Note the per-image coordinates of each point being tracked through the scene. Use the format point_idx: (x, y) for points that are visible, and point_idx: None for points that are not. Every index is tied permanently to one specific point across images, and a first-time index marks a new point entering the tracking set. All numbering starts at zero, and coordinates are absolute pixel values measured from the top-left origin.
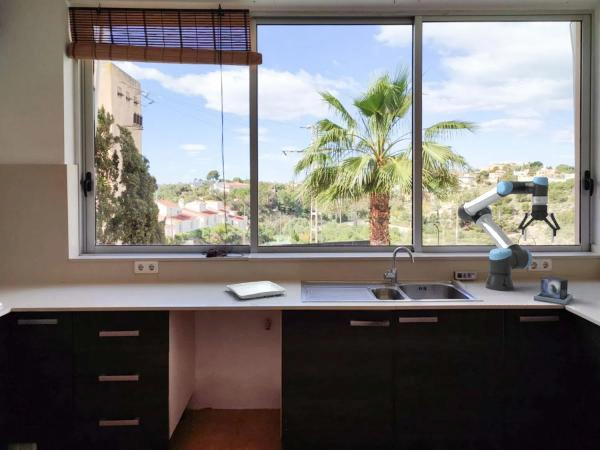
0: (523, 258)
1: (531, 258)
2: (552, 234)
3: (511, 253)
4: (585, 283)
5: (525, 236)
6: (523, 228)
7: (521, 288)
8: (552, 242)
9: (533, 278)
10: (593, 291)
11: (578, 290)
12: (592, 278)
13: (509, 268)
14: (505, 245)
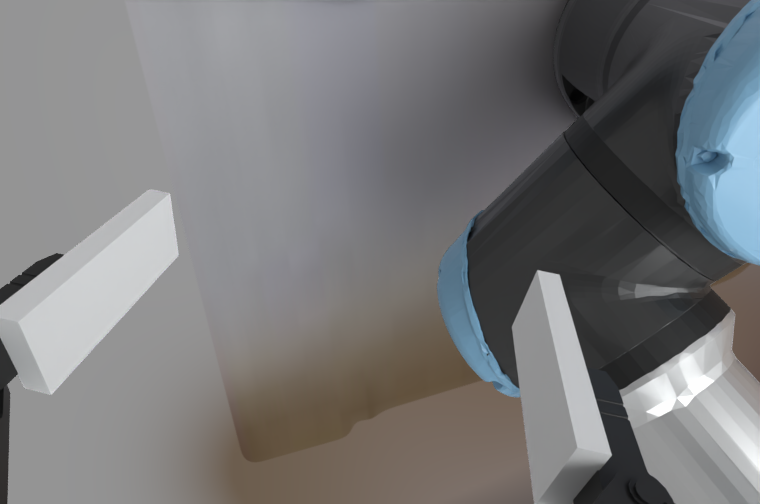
0: (514, 209)
1: (443, 273)
2: (61, 268)
3: (691, 101)
4: (245, 362)
5: (541, 338)
6: (632, 491)
7: (502, 110)
8: (150, 189)
9: (436, 383)
10: (185, 222)
11: (238, 213)
12: (244, 443)
13: (648, 26)
14: (722, 382)
